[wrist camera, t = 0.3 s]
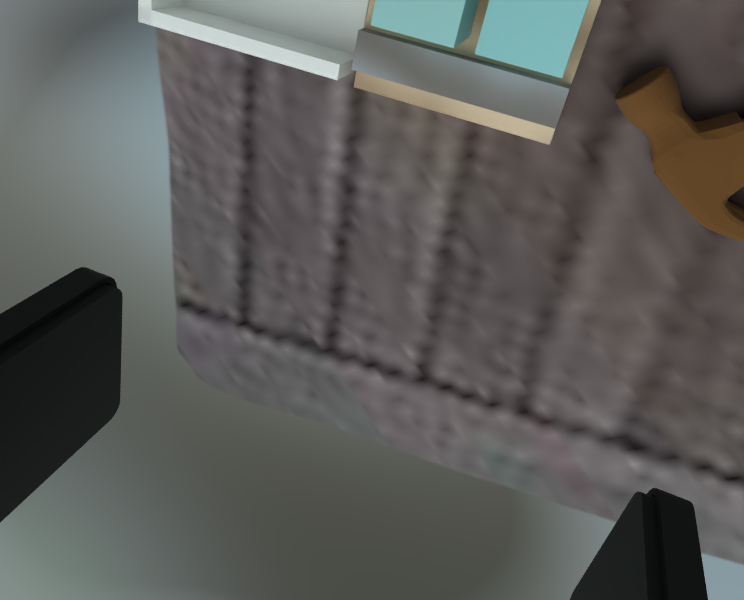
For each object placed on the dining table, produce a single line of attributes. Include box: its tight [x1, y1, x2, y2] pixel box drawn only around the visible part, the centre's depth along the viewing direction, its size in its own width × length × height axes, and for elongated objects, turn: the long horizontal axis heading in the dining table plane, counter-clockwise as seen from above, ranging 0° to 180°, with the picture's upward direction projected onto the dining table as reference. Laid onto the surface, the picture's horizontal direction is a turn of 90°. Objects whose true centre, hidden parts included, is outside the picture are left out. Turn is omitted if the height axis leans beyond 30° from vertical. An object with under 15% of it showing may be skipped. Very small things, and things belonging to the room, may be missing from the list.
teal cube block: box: [475, 0, 590, 78], centre depth 30 cm, size 4×4×4 cm
